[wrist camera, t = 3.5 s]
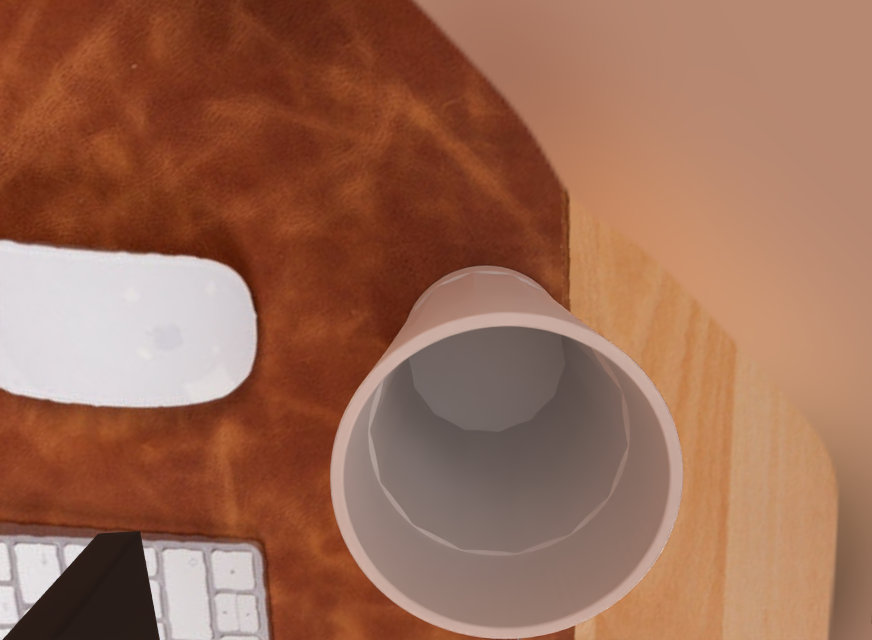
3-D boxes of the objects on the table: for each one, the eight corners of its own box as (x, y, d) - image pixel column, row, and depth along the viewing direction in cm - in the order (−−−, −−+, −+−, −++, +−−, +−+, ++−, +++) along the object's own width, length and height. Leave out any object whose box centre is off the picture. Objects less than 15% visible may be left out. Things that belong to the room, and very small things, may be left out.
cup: (477, 484, 30) (492, 699, 18) (337, 341, 29) (257, 473, 17) (633, 353, 29) (756, 495, 17) (492, 198, 27) (520, 235, 16)
